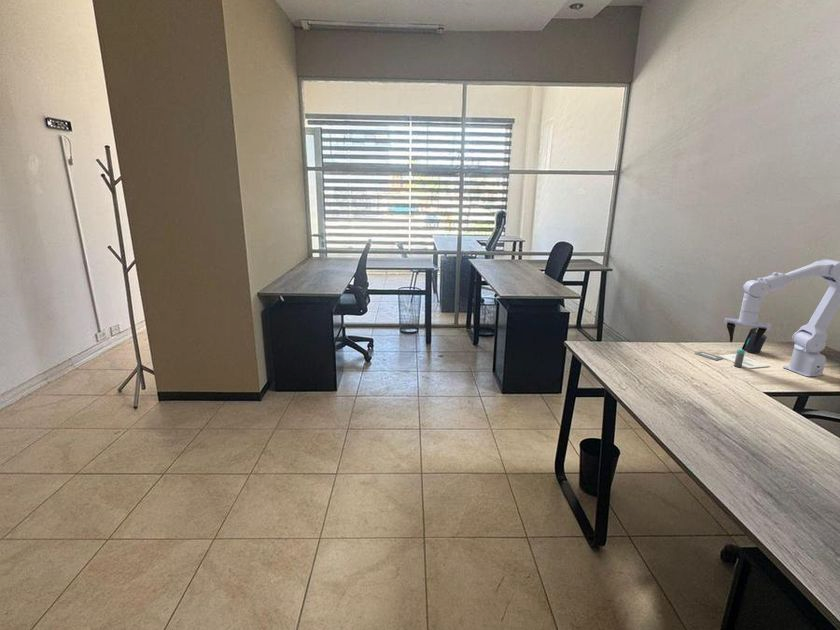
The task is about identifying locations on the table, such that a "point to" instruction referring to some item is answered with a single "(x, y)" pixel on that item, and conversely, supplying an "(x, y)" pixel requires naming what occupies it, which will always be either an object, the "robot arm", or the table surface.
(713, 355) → the plate
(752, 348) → the speaker
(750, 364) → the paper
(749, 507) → the table surface
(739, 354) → the marker
